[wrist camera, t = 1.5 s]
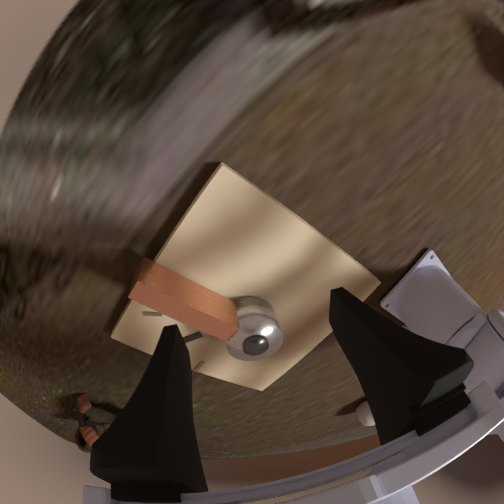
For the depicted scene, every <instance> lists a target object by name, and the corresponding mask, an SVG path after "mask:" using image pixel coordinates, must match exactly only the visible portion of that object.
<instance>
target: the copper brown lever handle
mask: <svg viewBox="0 0 504 504" xmlns="http://www.w3.org/2000/svg"><path fill="white" fill-rule="evenodd" d="M128 298H130V299H132V300H134V301H136V302H138V303H140V304H142V305H144V306H146V307H148V308H151V309H153V310H155V311H157V312H159V313H161V314H164V315H166V316H168V317H170V318H172V319H175V320H177V321H179V322H181V323H184V324H186V325H188V326H191V327H193V328H195V329H198V330H200V331H203V332H205V333H207V334H210V335H212V336H215V337H217V338H220V339H222V340H225V341H226V347H227V351H228V353H229V354H230V355H231V356H232V357H234V358H236V359H238V360H242V361H257V360H261V359H264V358H267V357H269V356H271V355H272V354H274V353H275V352H276V351H277V350H278V349H279V348H280V347H281V345H282V342H283V334H282V332H281V329H280V326H279V323H278V320H277V317H276V314H275V311H274V309H273V307H272V305H271V304H270V303H269V302H268V301H266V300H264V299H262V298H257V297H247V298H243V299H239V300H237V301H235V302H234V301H232V300H230V299H228V298H226V297H224V296H222V295H220V294H218V293H216V292H214V291H212V290H210V289H208V288H206V287H204V286H202V285H200V284H198V283H196V282H194V281H192V280H190V279H188V278H186V277H184V276H182V275H180V274H178V273H176V272H174V271H172V270H170V269H168V268H166V267H165V266H163V265H161V264H159V263H157V262H155V261H153V260H151V259H149V258H148V257H146V256H144V257H143V259H142V260H141V262H140V264H139V265H138V267H137V269H136V271H135V273H134V277H133V280H132V284H131V288H130V291H129V295H128Z"/></svg>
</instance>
